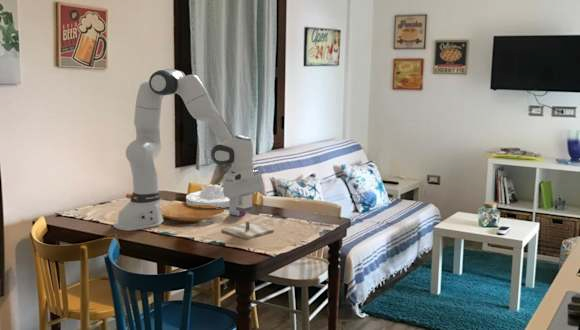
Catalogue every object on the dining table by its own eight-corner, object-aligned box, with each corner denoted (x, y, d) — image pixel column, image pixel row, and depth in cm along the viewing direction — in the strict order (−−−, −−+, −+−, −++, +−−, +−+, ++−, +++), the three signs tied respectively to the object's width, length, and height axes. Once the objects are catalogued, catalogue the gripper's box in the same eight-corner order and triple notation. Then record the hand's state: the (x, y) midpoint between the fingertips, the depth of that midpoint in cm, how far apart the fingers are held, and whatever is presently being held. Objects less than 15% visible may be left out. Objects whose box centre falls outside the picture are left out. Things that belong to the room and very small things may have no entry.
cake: (220, 212, 306) (219, 192, 304) (174, 205, 319) (174, 186, 318) (251, 199, 330) (250, 181, 328) (208, 193, 343) (207, 176, 342)
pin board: (246, 239, 262) (246, 229, 261) (221, 231, 273) (221, 221, 272) (273, 231, 273) (273, 221, 272) (249, 224, 284) (249, 214, 283)
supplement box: (238, 217, 296) (237, 193, 294) (228, 215, 299) (228, 191, 297) (246, 214, 300) (246, 191, 298) (237, 212, 304) (236, 189, 302)
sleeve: (243, 212, 271) (243, 196, 270) (236, 209, 275) (235, 194, 273) (252, 209, 275) (251, 194, 273) (244, 207, 278) (244, 192, 277)
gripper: (256, 168, 281) (256, 198, 284) (220, 175, 267) (221, 207, 269) (265, 170, 277) (266, 201, 279) (230, 177, 262) (231, 209, 265)
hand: (243, 204), depth 274 cm, fingers closed on sleeve, 5 cm apart
